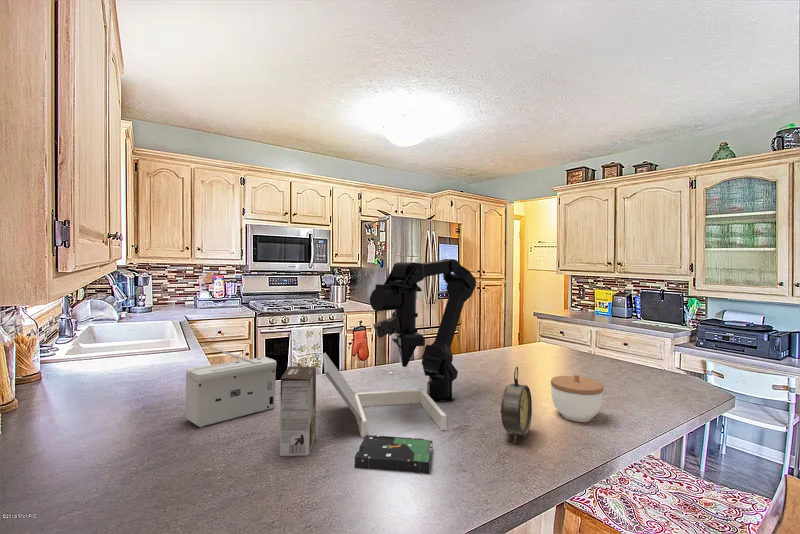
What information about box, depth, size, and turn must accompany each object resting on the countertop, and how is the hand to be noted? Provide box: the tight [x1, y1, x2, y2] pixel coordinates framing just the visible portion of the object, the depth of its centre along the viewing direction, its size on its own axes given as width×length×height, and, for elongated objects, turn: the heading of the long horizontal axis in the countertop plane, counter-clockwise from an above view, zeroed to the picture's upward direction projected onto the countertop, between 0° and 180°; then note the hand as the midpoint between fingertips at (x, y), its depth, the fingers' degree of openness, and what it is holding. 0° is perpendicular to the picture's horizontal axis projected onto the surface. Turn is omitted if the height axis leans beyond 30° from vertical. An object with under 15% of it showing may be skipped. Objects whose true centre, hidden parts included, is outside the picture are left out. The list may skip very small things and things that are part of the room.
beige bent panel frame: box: [322, 352, 447, 438], centre depth 100 cm, size 29×20×15 cm
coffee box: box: [279, 365, 317, 457], centre depth 84 cm, size 9×6×16 cm
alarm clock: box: [500, 365, 533, 445], centre depth 91 cm, size 11×5×16 cm, turn 148°
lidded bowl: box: [550, 374, 604, 423], centre depth 103 cm, size 13×13×11 cm
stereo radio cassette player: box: [185, 343, 278, 428], centre depth 101 cm, size 21×8×20 cm, turn 134°
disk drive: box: [354, 434, 434, 475], centre depth 80 cm, size 10×3×15 cm
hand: (404, 366), depth 105 cm, fingers closed
